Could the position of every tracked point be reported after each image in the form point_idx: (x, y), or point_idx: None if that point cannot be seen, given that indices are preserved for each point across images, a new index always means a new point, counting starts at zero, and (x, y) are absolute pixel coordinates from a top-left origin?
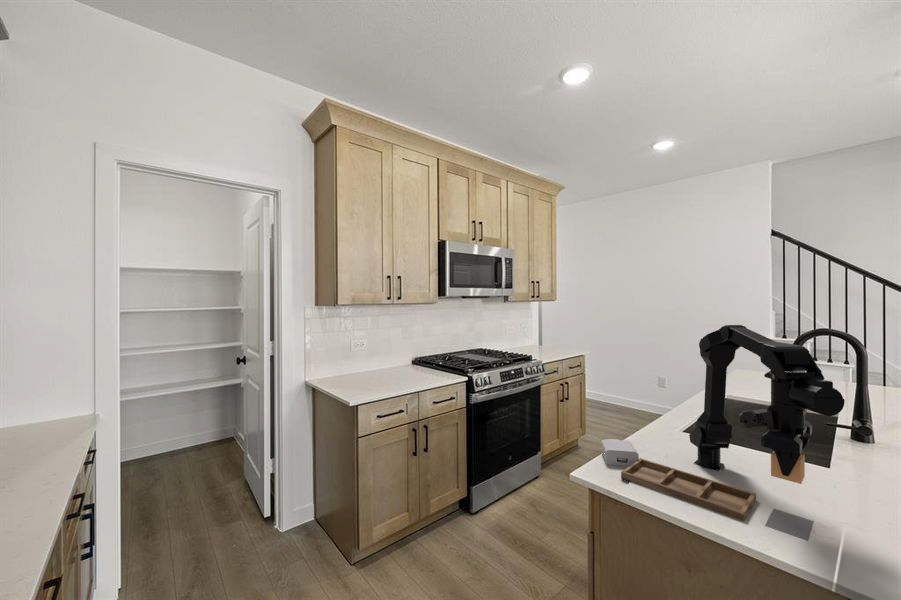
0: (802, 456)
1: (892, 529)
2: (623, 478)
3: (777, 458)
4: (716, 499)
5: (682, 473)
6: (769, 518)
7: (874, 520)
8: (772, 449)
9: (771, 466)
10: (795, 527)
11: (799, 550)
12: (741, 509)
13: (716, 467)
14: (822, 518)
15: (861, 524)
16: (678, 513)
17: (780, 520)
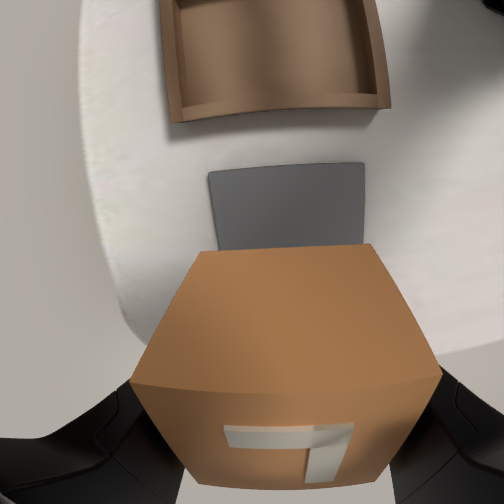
0: (307, 488)
1: (435, 354)
2: None
3: (99, 403)
4: (263, 14)
5: None
6: (271, 169)
7: (458, 332)
8: (19, 440)
9: (181, 293)
10: (275, 235)
11: (172, 257)
12: (200, 105)
13: (499, 3)
14: (409, 267)
15: (428, 323)
16: (96, 12)
17: (287, 196)
